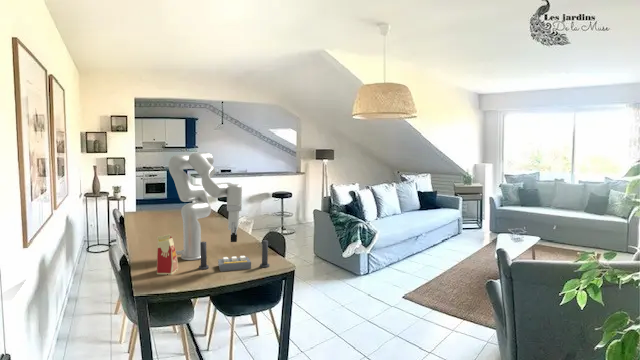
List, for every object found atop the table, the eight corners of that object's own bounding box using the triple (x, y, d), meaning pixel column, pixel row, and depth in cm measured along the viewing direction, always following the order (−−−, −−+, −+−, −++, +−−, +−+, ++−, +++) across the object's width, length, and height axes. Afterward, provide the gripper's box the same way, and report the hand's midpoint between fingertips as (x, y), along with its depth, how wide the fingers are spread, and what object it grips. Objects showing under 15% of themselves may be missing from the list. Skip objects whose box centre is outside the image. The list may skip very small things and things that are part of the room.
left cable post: (198, 269, 208) (197, 243, 206) (199, 266, 213) (199, 241, 211) (208, 269, 209) (207, 243, 207) (209, 266, 214) (208, 240, 212)
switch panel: (220, 272, 206) (220, 261, 206) (218, 266, 215) (218, 256, 215) (251, 269, 212) (251, 259, 211) (247, 264, 221) (247, 254, 220)
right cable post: (259, 267, 213) (260, 242, 212) (260, 264, 218) (260, 239, 217) (269, 267, 214) (269, 242, 212) (269, 264, 218) (269, 239, 217)
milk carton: (178, 269, 209) (177, 231, 207) (172, 274, 200) (171, 235, 198) (160, 268, 209) (159, 231, 207) (153, 274, 199) (153, 235, 198)
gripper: (228, 205, 217) (227, 238, 219) (225, 210, 202) (225, 245, 204) (242, 205, 218) (241, 238, 220) (240, 210, 204) (240, 245, 205)
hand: (233, 241), depth 212 cm, fingers closed
